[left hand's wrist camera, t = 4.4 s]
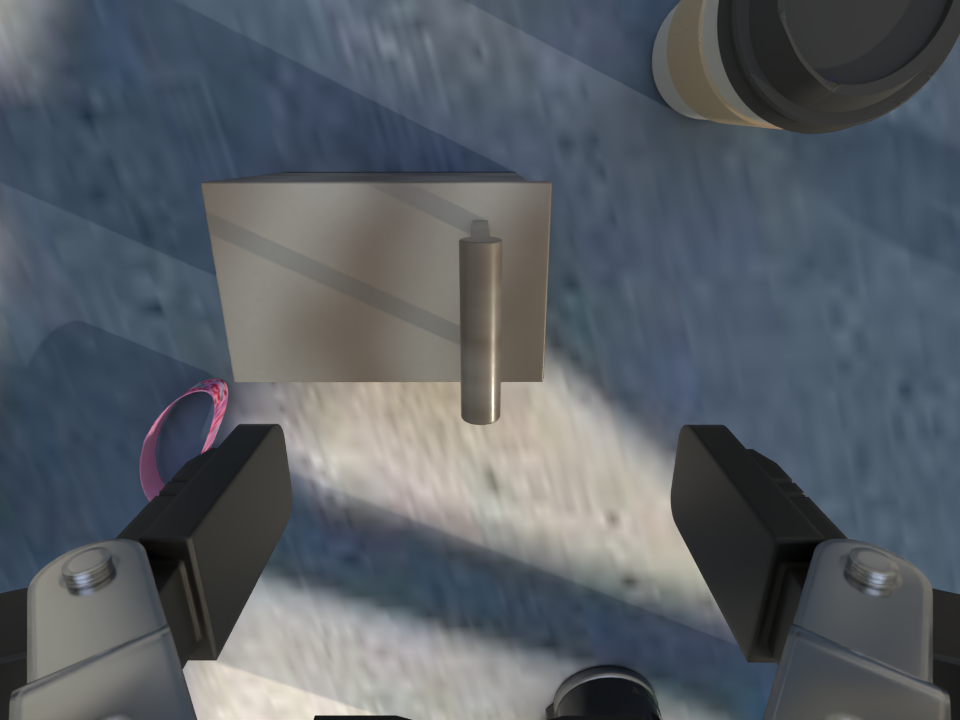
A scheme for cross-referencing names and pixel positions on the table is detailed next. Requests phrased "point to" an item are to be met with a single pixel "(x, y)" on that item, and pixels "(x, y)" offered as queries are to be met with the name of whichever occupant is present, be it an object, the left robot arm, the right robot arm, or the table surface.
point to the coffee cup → (800, 59)
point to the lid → (384, 282)
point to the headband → (148, 456)
